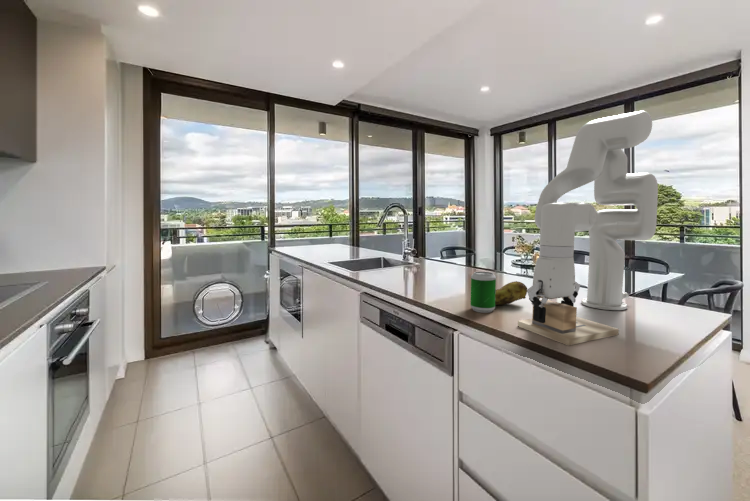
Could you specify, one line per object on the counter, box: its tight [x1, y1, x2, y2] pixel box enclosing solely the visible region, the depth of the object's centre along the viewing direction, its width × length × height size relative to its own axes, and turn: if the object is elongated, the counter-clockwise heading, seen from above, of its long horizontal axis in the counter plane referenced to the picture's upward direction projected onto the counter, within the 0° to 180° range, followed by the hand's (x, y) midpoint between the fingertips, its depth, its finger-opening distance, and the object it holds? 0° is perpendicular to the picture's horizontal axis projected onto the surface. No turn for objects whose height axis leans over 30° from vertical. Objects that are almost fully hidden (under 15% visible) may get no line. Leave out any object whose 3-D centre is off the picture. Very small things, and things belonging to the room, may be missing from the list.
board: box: [517, 316, 620, 346], centre depth 88 cm, size 18×15×2 cm
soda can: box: [470, 271, 497, 314], centre depth 107 cm, size 8×8×12 cm
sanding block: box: [531, 299, 578, 334], centre depth 86 cm, size 4×9×6 cm, turn 22°
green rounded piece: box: [495, 280, 528, 306], centre depth 113 cm, size 8×13×8 cm, turn 76°
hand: (553, 319), depth 86 cm, fingers open, 9 cm apart
